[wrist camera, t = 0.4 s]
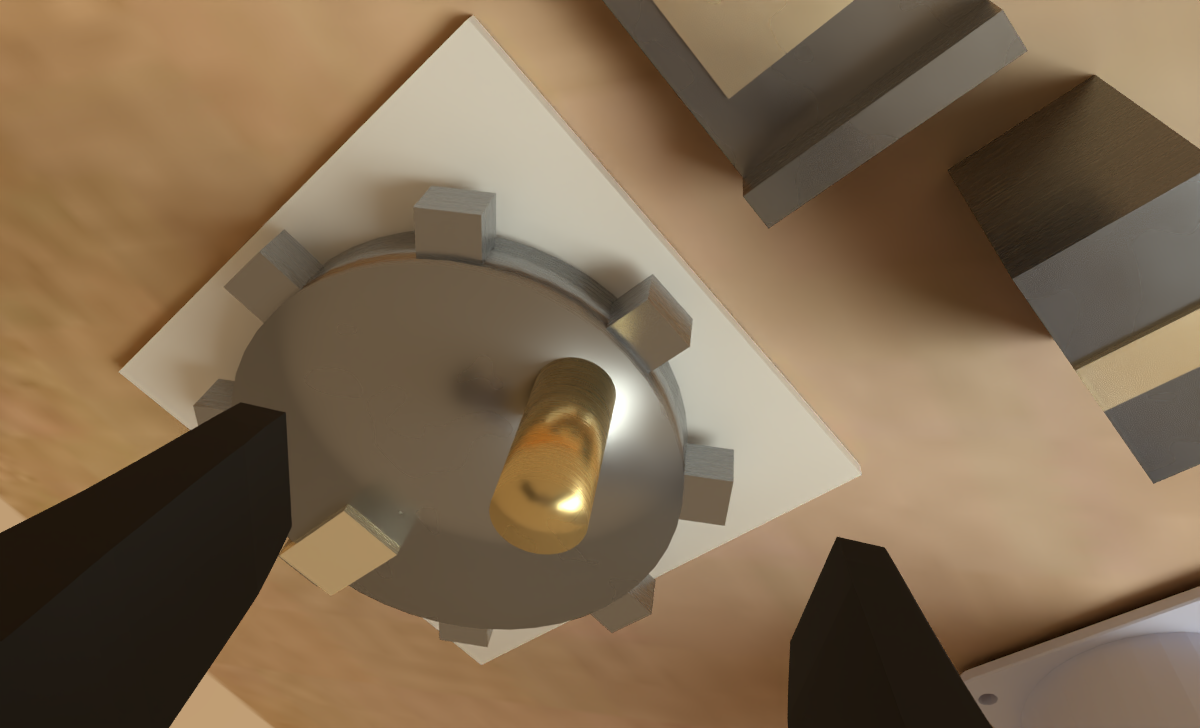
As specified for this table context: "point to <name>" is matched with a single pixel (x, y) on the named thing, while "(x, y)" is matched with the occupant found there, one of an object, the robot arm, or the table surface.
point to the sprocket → (474, 423)
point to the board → (543, 221)
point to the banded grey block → (1106, 256)
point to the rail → (815, 78)
